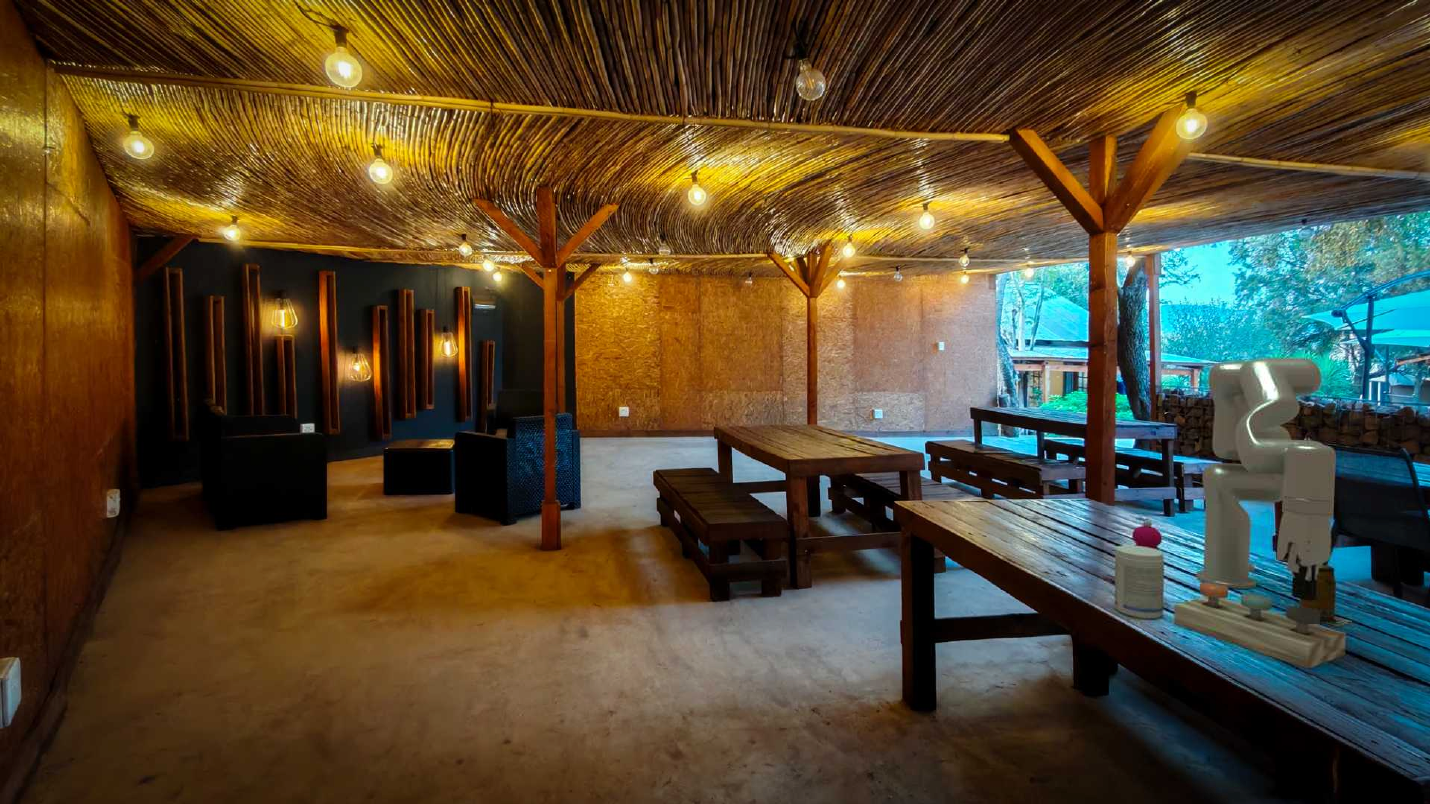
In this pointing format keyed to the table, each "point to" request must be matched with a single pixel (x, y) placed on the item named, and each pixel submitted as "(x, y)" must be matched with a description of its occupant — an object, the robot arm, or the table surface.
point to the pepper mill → (1147, 536)
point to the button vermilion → (1213, 593)
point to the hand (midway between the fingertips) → (1303, 598)
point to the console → (1261, 632)
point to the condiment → (1325, 597)
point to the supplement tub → (1139, 581)
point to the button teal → (1256, 604)
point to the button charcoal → (1302, 617)
